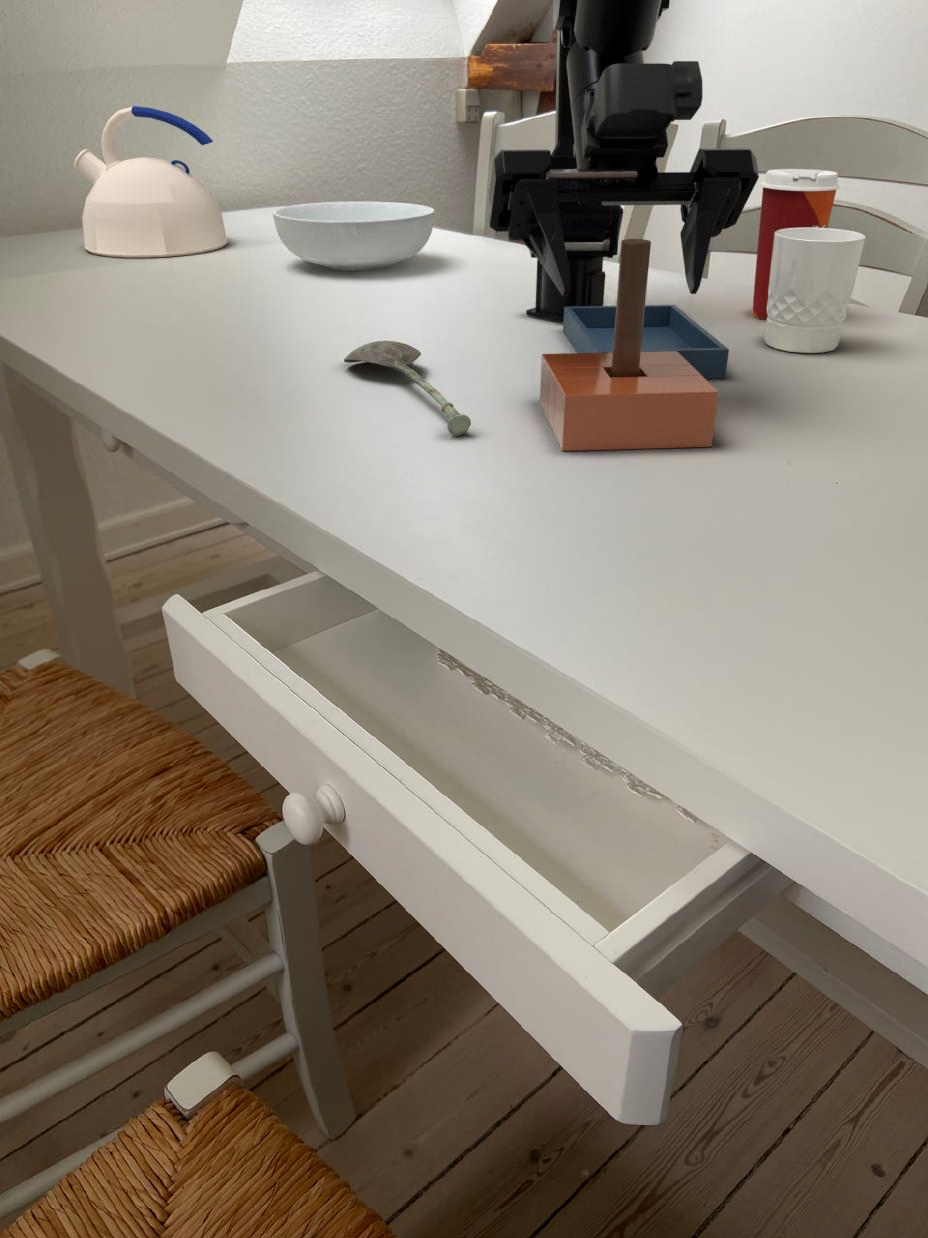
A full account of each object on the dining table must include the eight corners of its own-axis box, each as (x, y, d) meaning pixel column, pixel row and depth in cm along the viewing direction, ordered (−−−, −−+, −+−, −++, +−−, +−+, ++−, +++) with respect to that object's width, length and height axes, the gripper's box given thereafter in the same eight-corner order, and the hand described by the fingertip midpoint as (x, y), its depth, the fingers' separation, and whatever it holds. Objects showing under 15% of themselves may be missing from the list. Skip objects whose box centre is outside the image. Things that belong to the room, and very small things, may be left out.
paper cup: (820, 325, 99) (847, 176, 92) (743, 322, 101) (764, 174, 94) (812, 308, 106) (837, 168, 99) (740, 305, 107) (759, 167, 100)
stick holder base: (539, 403, 77) (541, 353, 75) (671, 400, 78) (677, 350, 76) (562, 451, 68) (565, 395, 66) (711, 447, 68) (719, 391, 66)
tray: (562, 331, 97) (564, 306, 96) (672, 329, 98) (675, 304, 97) (596, 381, 82) (598, 351, 81) (725, 378, 83) (729, 349, 82)
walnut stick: (601, 424, 73) (615, 241, 66) (616, 418, 74) (631, 237, 67) (624, 430, 71) (640, 244, 65) (639, 423, 73) (656, 240, 66)
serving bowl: (465, 260, 131) (465, 205, 128) (372, 287, 116) (369, 226, 112) (344, 246, 141) (341, 195, 137) (243, 269, 125) (237, 212, 122)
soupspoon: (407, 364, 89) (338, 374, 87) (403, 326, 88) (333, 337, 86) (500, 429, 71) (416, 444, 69) (499, 384, 69) (412, 398, 68)
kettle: (120, 233, 151) (98, 102, 142) (248, 236, 149) (234, 103, 140) (55, 256, 134) (26, 108, 125) (199, 259, 131) (179, 109, 122)
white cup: (844, 338, 95) (865, 229, 90) (843, 358, 88) (866, 242, 83) (761, 331, 97) (777, 225, 92) (754, 351, 91) (771, 238, 86)
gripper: (494, 13, 64) (511, 217, 60) (771, 15, 65) (805, 213, 61) (482, 139, 74) (495, 318, 70) (719, 138, 76) (745, 314, 72)
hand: (631, 291), depth 68 cm, fingers open, 9 cm apart
